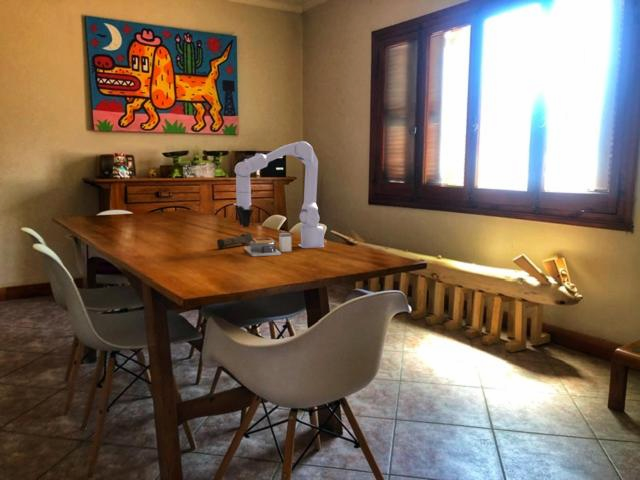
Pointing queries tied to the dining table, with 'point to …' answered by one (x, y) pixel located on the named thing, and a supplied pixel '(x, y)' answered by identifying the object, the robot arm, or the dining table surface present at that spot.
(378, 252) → the dining table surface
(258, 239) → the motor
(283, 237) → the block
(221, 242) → the hand tool
